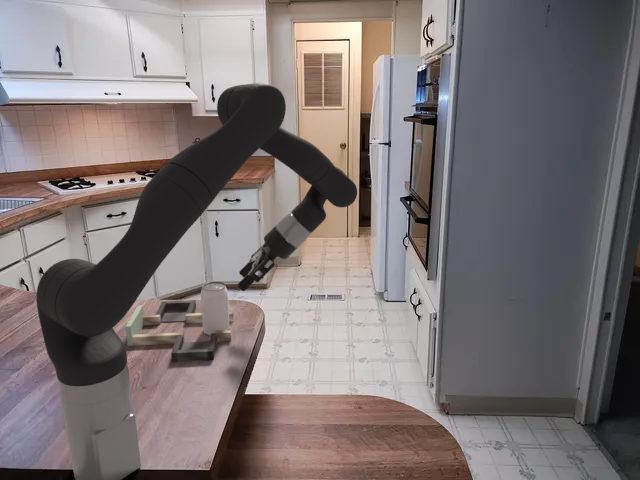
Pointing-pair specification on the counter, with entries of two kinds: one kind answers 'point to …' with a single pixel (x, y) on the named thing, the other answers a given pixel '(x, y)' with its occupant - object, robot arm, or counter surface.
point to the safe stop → (135, 324)
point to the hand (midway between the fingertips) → (241, 281)
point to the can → (214, 307)
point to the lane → (181, 349)
